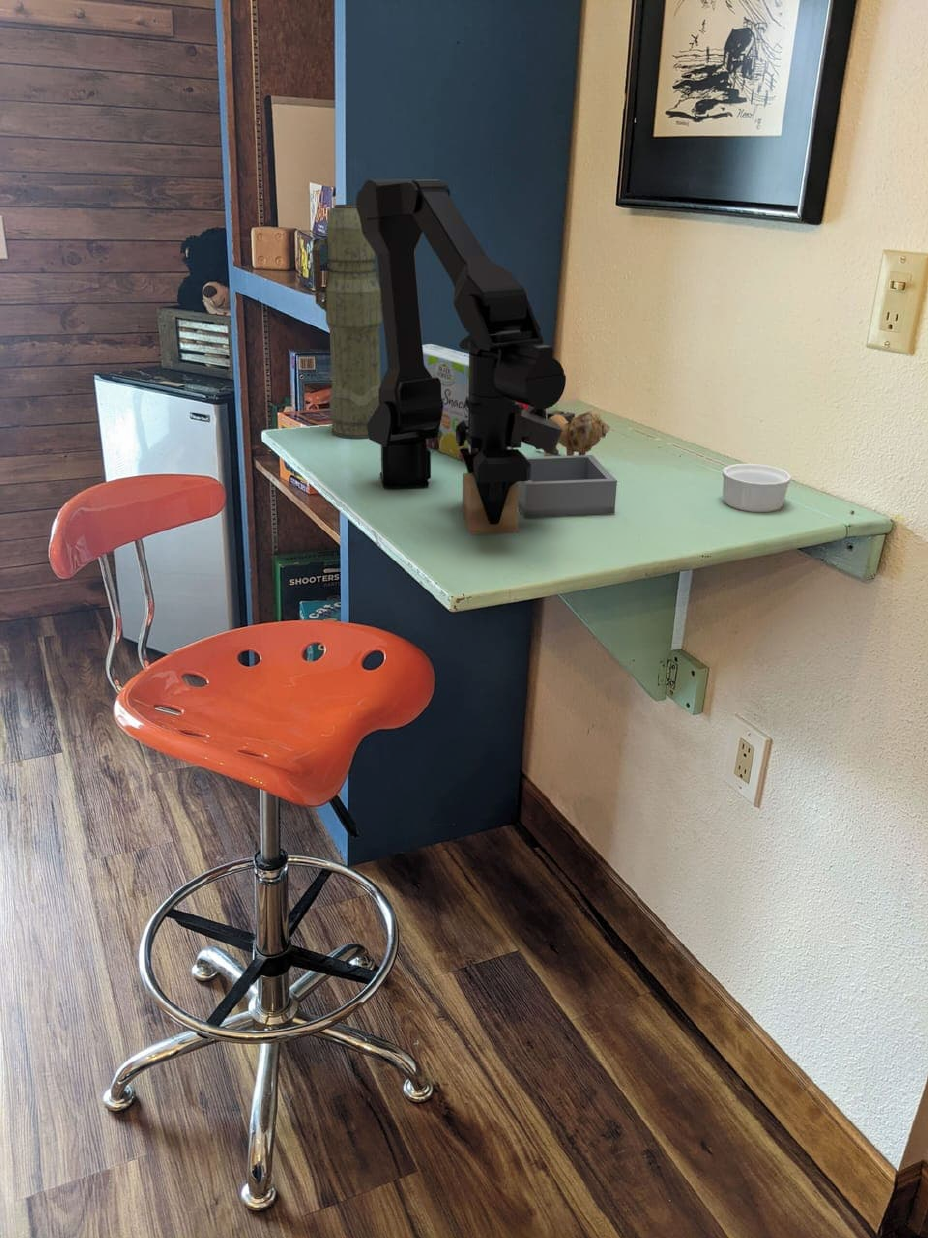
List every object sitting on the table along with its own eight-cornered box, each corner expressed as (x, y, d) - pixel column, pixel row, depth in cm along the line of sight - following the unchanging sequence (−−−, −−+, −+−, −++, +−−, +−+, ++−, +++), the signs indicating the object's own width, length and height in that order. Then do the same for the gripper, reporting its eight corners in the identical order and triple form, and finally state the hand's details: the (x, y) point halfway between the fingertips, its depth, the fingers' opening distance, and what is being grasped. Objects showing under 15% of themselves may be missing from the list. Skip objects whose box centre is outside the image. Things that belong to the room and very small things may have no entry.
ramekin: (786, 497, 139) (791, 466, 137) (786, 517, 132) (791, 485, 130) (721, 490, 141) (725, 460, 140) (716, 510, 134) (720, 479, 132)
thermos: (318, 427, 170) (306, 203, 155) (387, 423, 173) (381, 203, 158) (326, 441, 162) (314, 207, 147) (397, 436, 165) (393, 206, 150)
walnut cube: (469, 534, 125) (470, 487, 122) (462, 518, 130) (463, 473, 127) (517, 532, 125) (518, 485, 123) (508, 516, 131) (509, 471, 128)
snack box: (405, 440, 163) (404, 346, 157) (433, 435, 166) (433, 342, 160) (487, 472, 148) (489, 369, 142) (516, 465, 151) (519, 364, 145)
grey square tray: (524, 517, 130) (526, 484, 128) (507, 488, 141) (508, 457, 139) (614, 513, 132) (616, 480, 130) (590, 485, 143) (592, 454, 141)
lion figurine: (611, 472, 149) (616, 411, 145) (584, 478, 146) (588, 416, 142) (547, 449, 160) (550, 392, 156) (521, 454, 157) (523, 396, 153)
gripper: (577, 408, 113) (569, 538, 120) (540, 374, 130) (536, 490, 137) (479, 411, 112) (477, 543, 118) (455, 376, 128) (455, 493, 135)
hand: (489, 515), depth 127 cm, fingers closed on walnut cube, 6 cm apart
